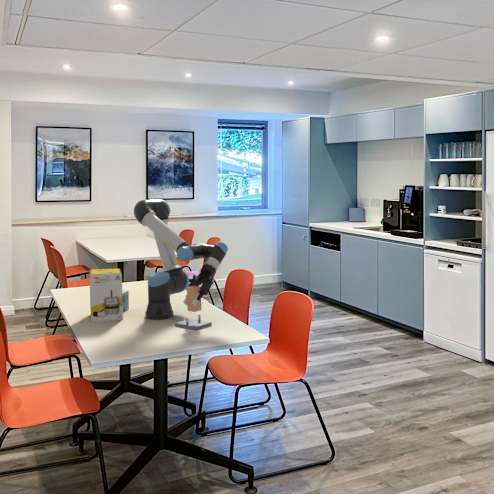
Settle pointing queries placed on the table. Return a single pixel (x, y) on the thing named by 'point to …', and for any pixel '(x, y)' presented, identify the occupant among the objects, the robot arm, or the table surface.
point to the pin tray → (193, 323)
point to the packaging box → (106, 294)
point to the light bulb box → (125, 300)
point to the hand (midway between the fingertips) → (189, 304)
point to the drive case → (191, 296)
